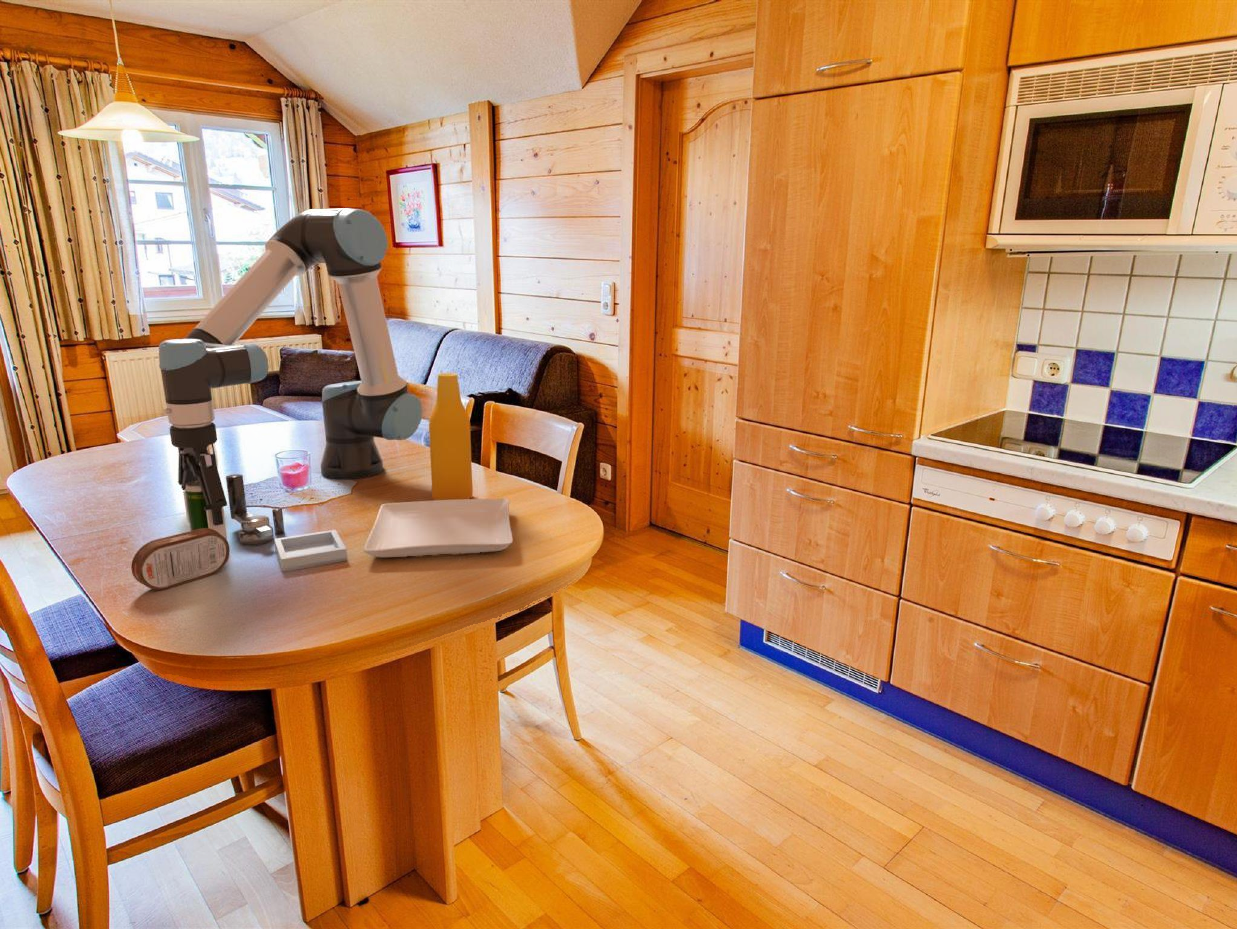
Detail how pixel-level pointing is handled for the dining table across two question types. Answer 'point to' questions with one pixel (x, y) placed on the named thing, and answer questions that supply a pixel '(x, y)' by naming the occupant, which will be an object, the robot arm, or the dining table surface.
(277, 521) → the base
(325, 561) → the tray
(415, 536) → the square plate
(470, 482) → the beer bottle
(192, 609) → the dining table surface
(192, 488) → the beer can
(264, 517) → the crank
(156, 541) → the tin
